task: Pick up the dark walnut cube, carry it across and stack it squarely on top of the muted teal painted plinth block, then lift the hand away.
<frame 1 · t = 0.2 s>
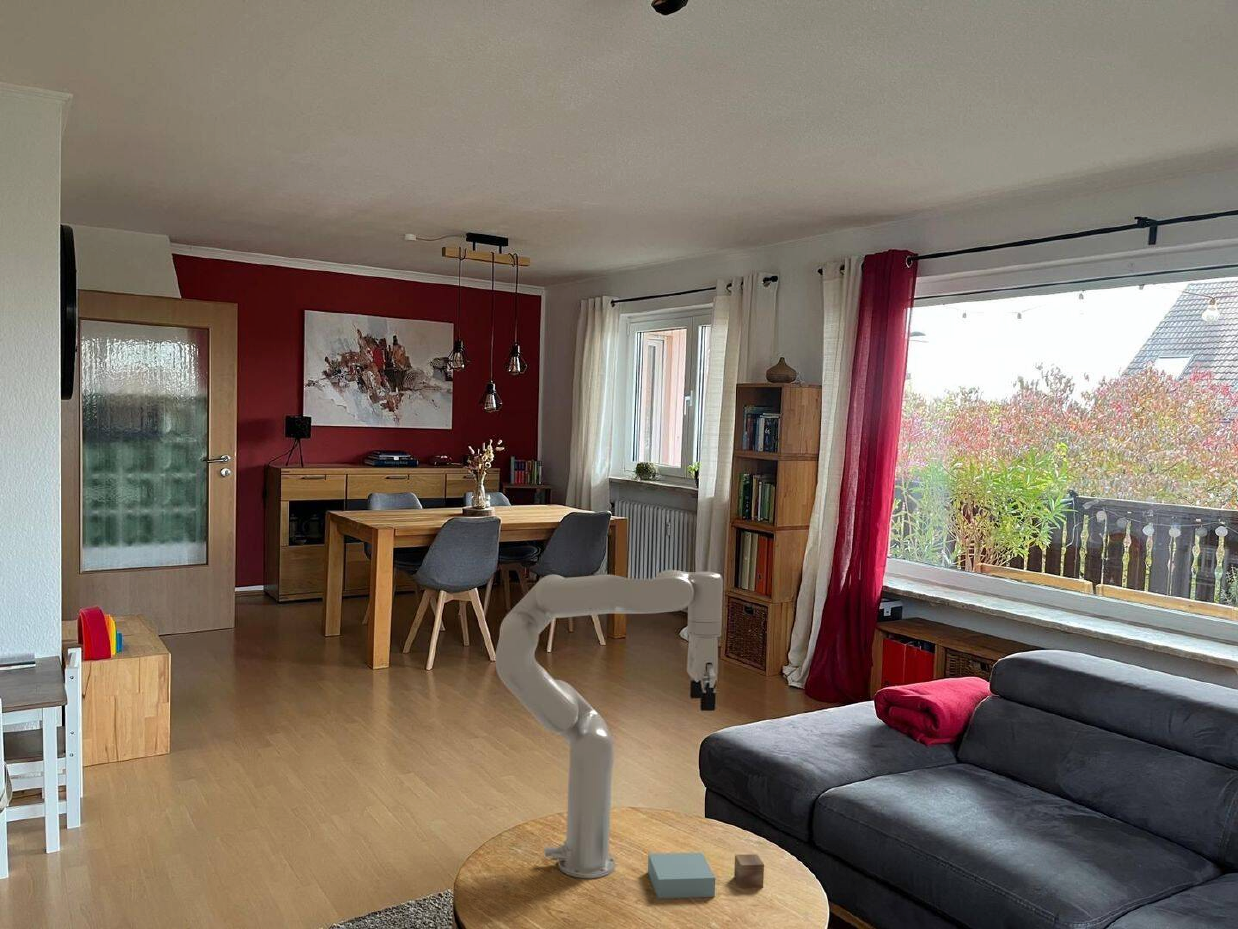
hand: (702, 704, 209), 36 cm above the table, tool pointing down, fingers open, 9 cm apart
walnut cube: (748, 882, 202), on the table
plinth block: (680, 884, 200), on the table
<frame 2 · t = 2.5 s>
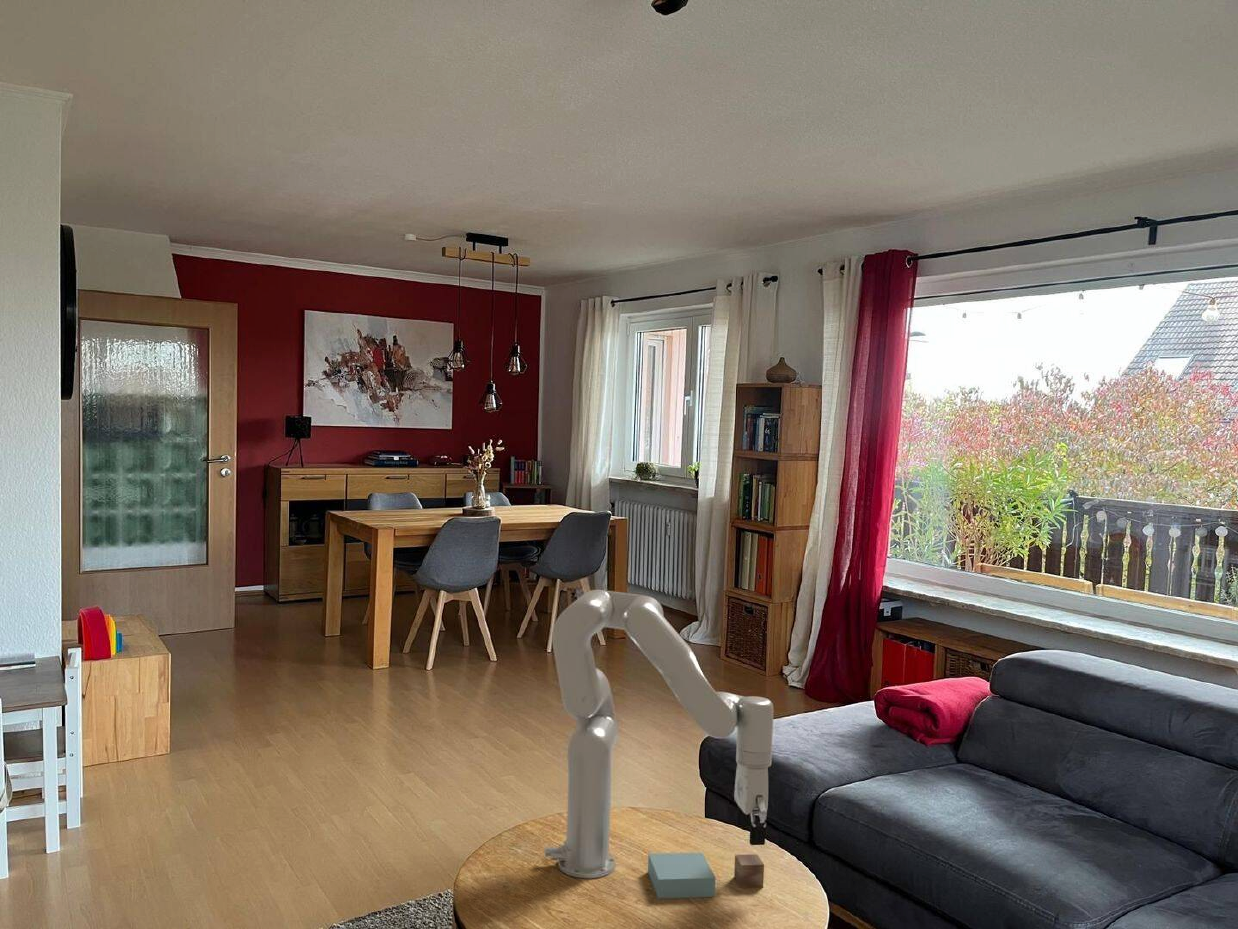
hand: (750, 834, 202), 10 cm above the table, tool pointing down, fingers open, 9 cm apart
nothing on the table moved.
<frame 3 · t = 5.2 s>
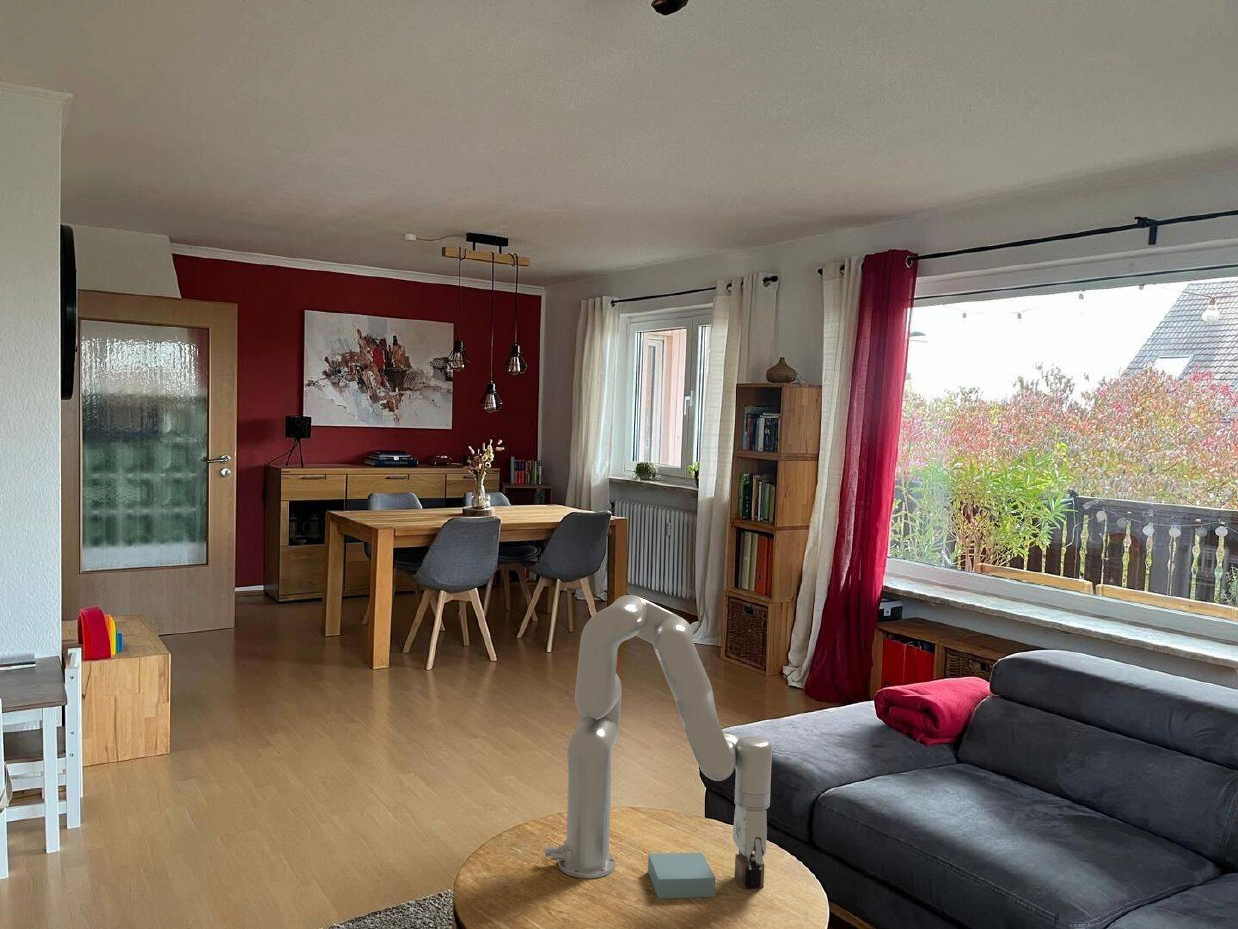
hand: (749, 879, 202), 0 cm above the table, tool pointing down, fingers closed on walnut cube, 5 cm apart
walnut cube: (748, 882, 202), on the table, touching gripper
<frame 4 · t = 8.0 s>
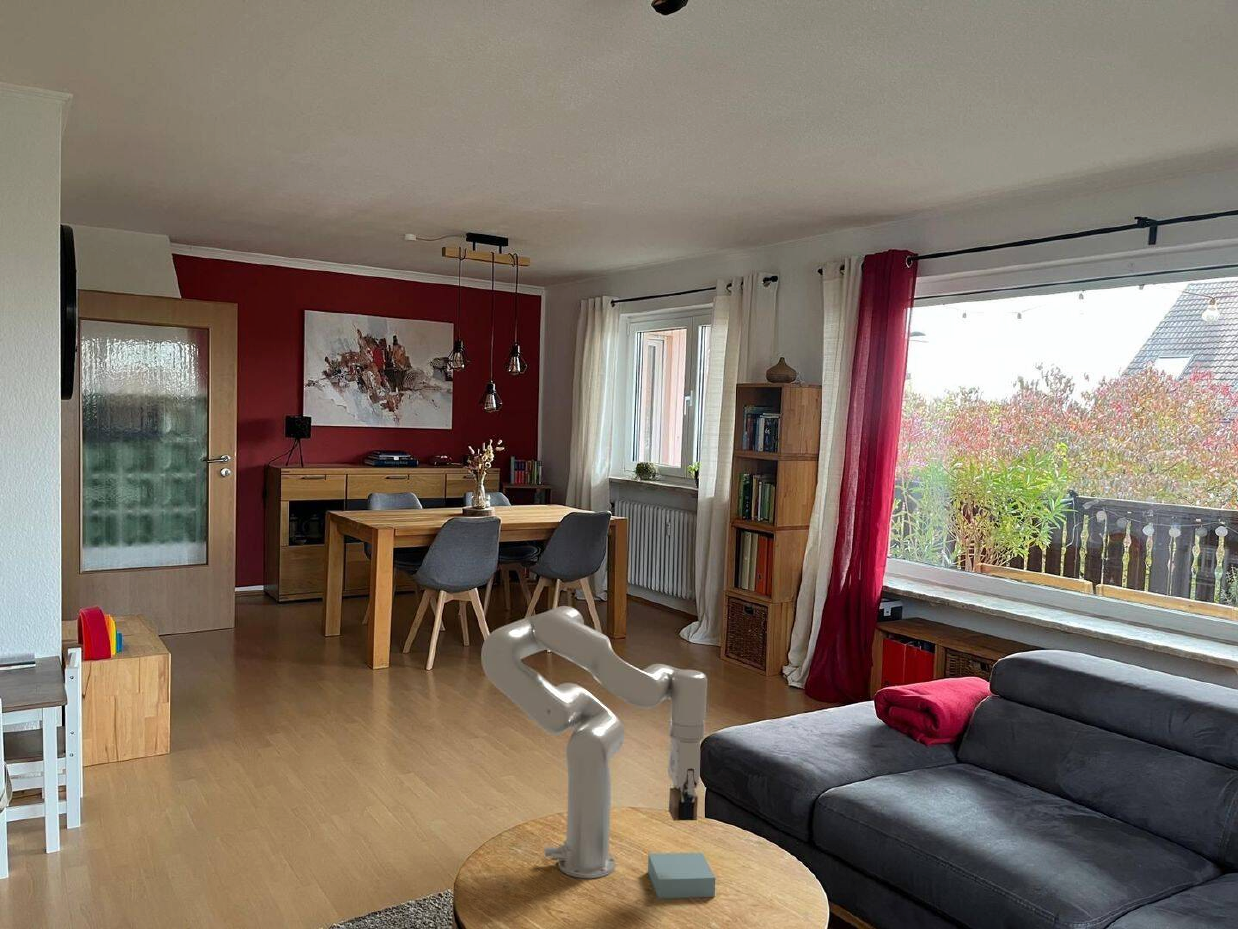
hand: (682, 813, 199), 15 cm above the table, tool pointing down, fingers closed on walnut cube, 5 cm apart
walnut cube: (682, 815, 199), point 15 cm above the table, touching gripper
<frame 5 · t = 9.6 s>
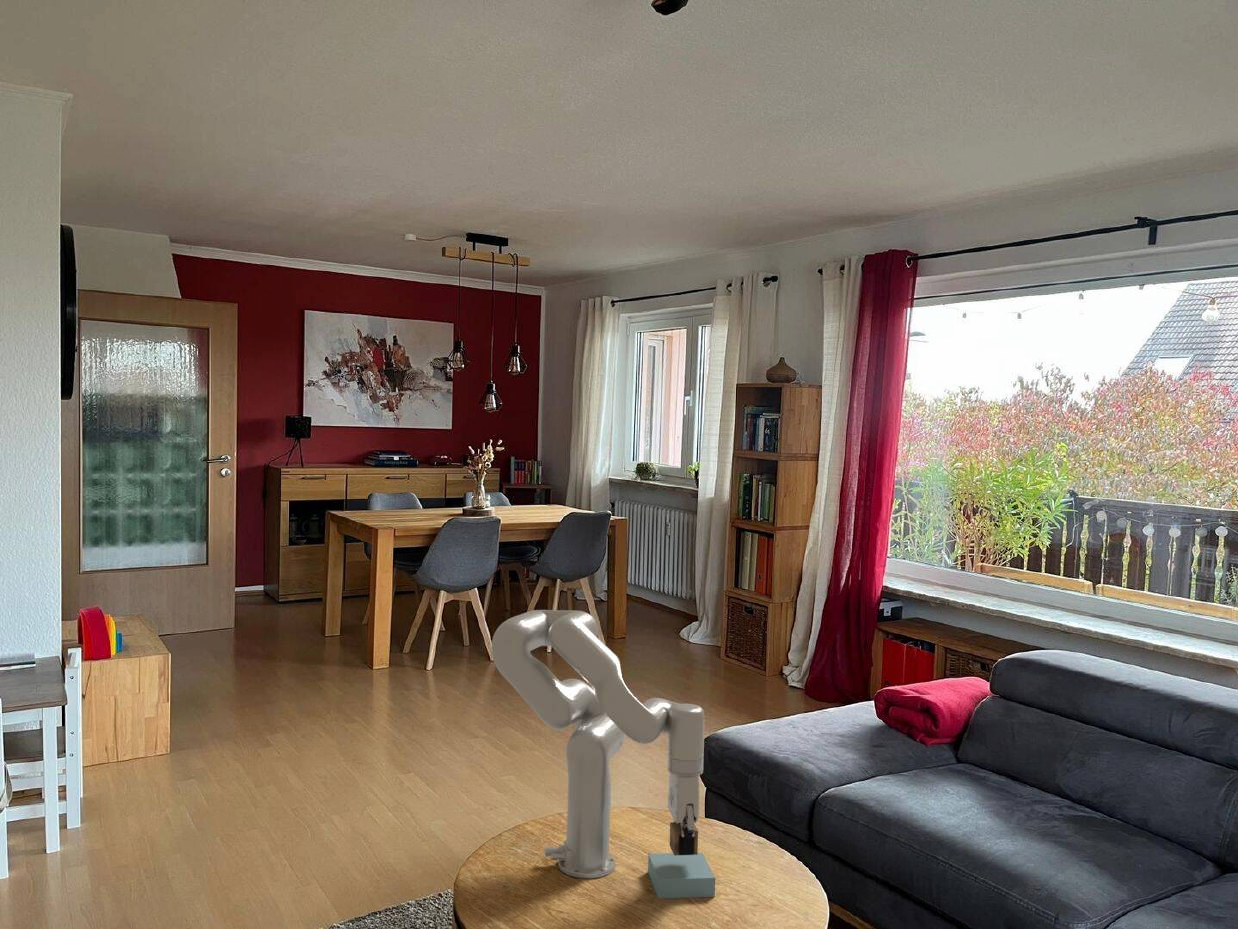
hand: (683, 848, 199), 8 cm above the table, tool pointing down, fingers closed on walnut cube, 5 cm apart
walnut cube: (683, 850, 199), point 7 cm above the table, touching gripper
when the fingers open (6 cm above the table, at t = 11.1 s): walnut cube drops 1 cm, resting on plinth block.
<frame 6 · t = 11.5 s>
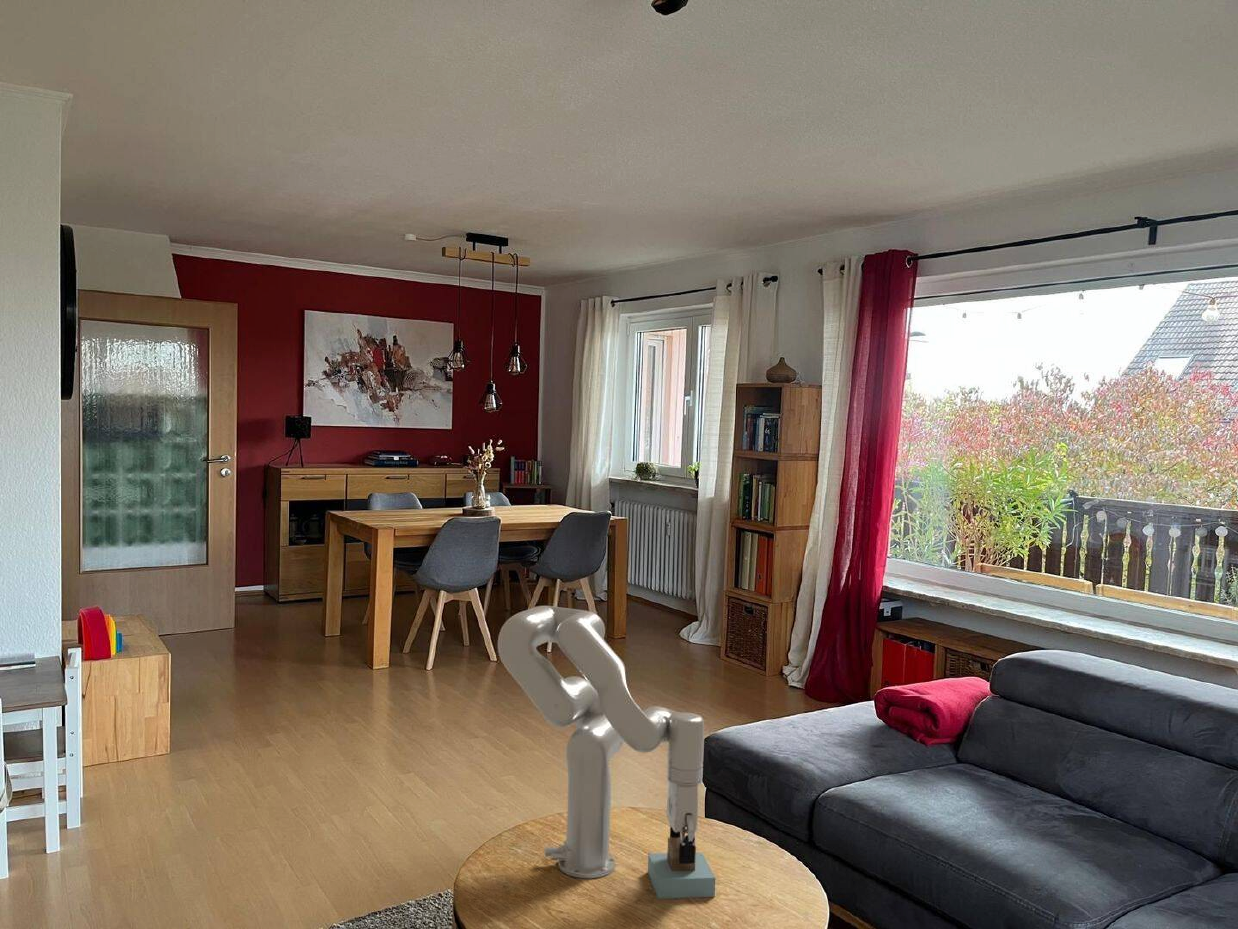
hand: (681, 853, 200), 7 cm above the table, tool pointing down, fingers open, 9 cm apart
walnut cube: (680, 865, 200), point 4 cm above the table, touching plinth block
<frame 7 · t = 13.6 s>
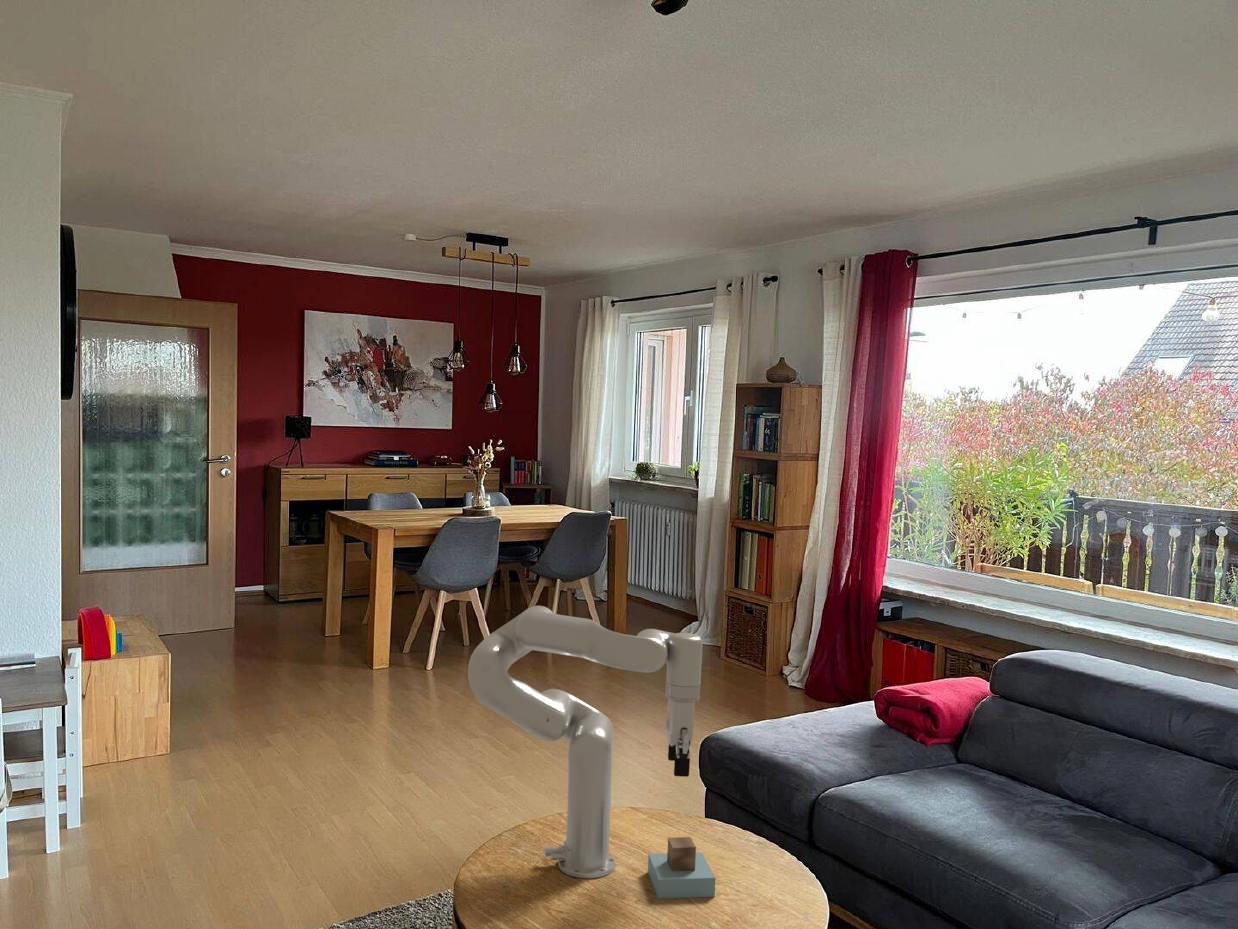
hand: (678, 768, 205), 23 cm above the table, tool pointing down, fingers open, 9 cm apart
nothing on the table moved.
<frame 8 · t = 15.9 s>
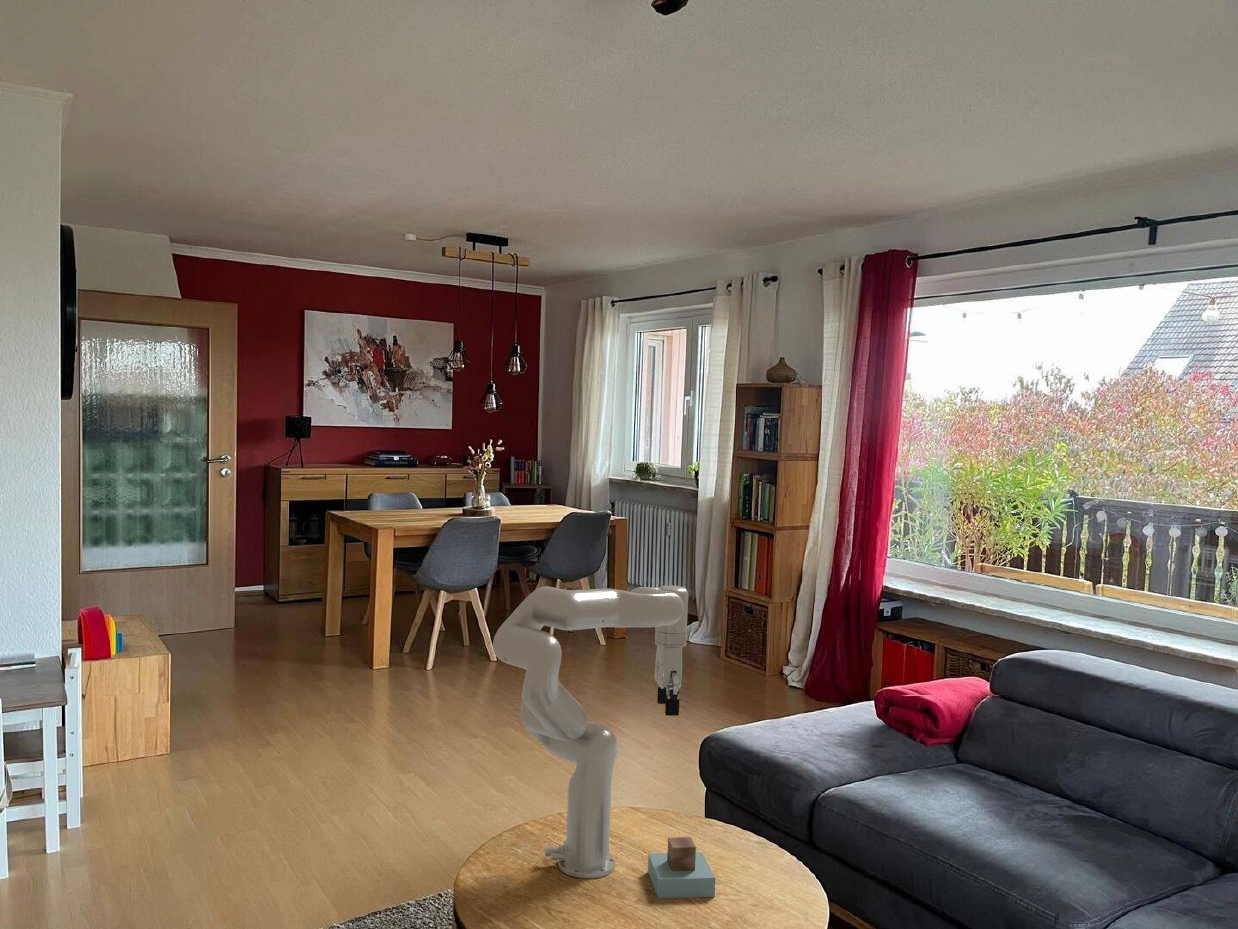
hand: (667, 709, 224), 30 cm above the table, tool pointing down, fingers open, 9 cm apart
nothing on the table moved.
at the end: walnut cube inside the target area on the plinth block (0.1 cm from its centre), point 4.0 cm above the plinth block's base; walnut cube tilted 0°; the gripper is holding nothing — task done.
